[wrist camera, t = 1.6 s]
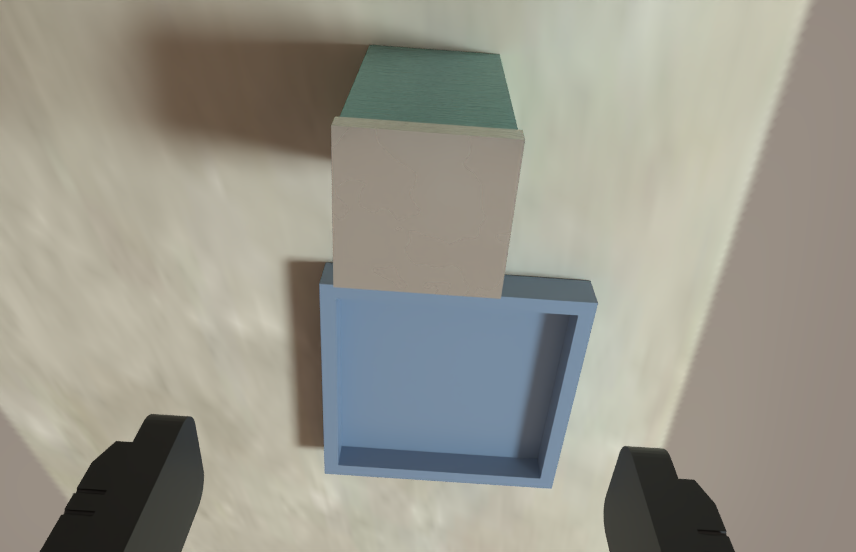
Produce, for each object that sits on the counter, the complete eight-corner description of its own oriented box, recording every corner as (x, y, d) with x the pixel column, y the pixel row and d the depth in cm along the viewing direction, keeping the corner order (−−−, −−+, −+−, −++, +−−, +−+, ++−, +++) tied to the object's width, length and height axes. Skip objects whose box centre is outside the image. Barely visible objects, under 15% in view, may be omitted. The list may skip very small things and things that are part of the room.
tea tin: (365, 167, 31) (333, 287, 22) (367, 42, 28) (330, 125, 19) (486, 176, 31) (500, 298, 22) (502, 52, 28) (525, 139, 19)
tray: (330, 448, 41) (324, 473, 39) (325, 262, 34) (319, 284, 32) (547, 462, 41) (551, 488, 40) (590, 280, 34) (598, 303, 32)
